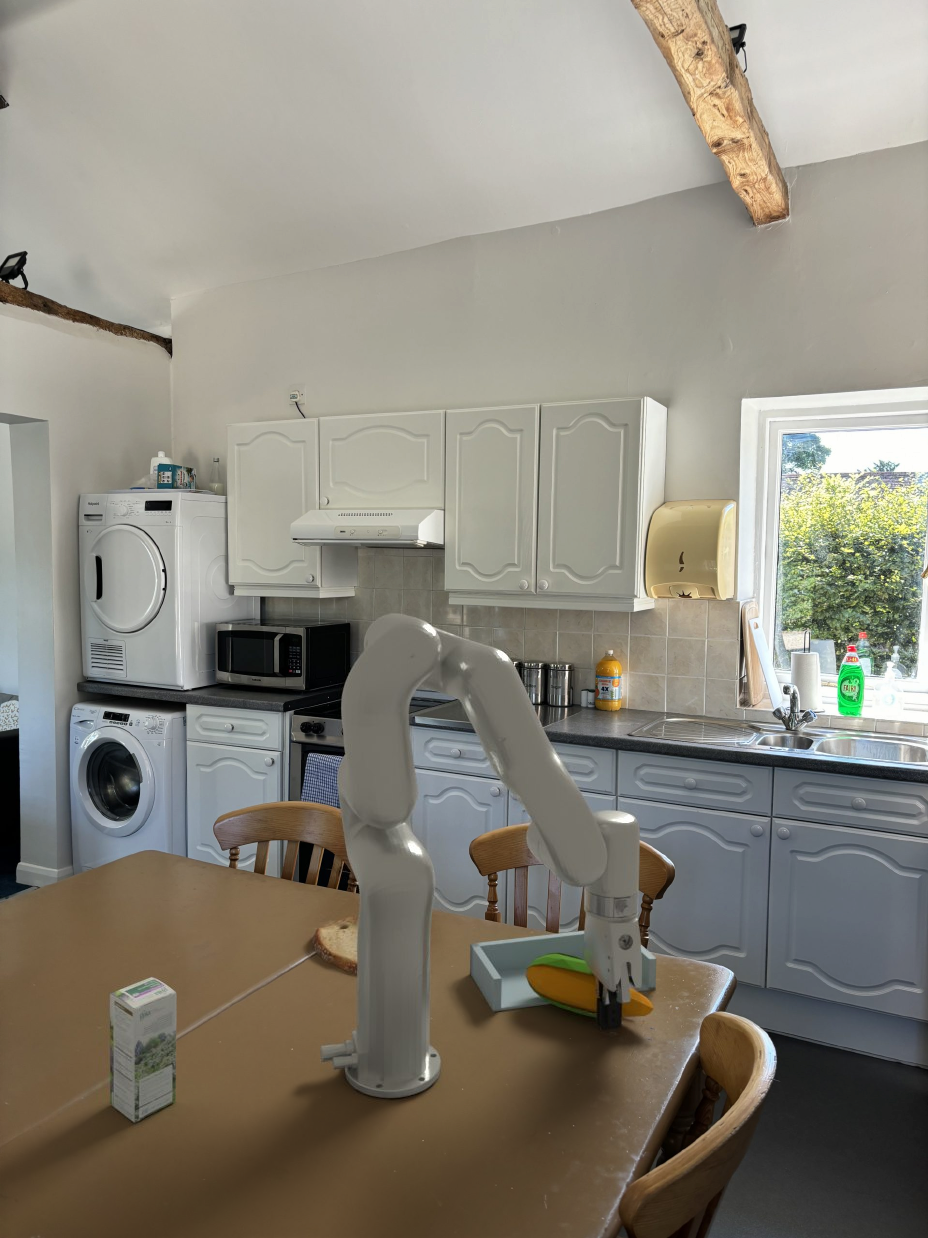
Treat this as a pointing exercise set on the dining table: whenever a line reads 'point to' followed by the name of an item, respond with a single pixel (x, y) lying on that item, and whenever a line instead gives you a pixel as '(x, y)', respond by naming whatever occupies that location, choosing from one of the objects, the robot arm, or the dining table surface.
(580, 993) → the corn
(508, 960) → the tray
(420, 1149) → the dining table surface
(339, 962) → the slice of bread
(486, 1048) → the dining table surface
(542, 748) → the robot arm
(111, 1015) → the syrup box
